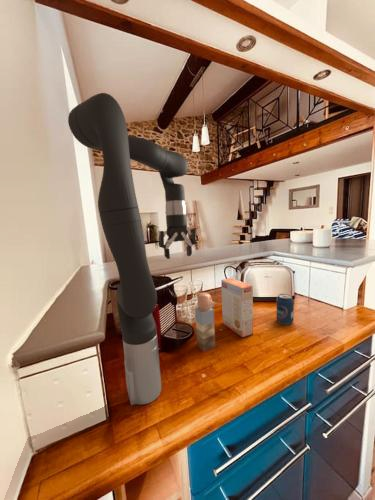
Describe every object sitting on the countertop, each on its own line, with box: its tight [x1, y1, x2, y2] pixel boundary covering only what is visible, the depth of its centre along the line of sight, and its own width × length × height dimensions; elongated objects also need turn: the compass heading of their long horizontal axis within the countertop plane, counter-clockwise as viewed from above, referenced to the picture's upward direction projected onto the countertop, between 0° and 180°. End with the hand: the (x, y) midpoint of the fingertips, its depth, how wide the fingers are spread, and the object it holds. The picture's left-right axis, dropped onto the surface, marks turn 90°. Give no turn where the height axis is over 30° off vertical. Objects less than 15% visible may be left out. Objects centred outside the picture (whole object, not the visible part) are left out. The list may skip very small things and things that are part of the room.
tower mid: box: [195, 320, 216, 339], centre depth 79 cm, size 5×5×5 cm
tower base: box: [196, 333, 216, 352], centre depth 80 cm, size 5×5×5 cm
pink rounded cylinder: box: [196, 291, 211, 312], centre depth 78 cm, size 5×5×6 cm
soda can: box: [276, 293, 295, 325], centre depth 95 cm, size 7×7×12 cm
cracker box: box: [221, 277, 254, 338], centre depth 90 cm, size 14×6×21 cm, turn 25°
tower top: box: [194, 306, 215, 326], centre depth 79 cm, size 5×5×5 cm
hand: (178, 257), depth 80 cm, fingers open, 8 cm apart
